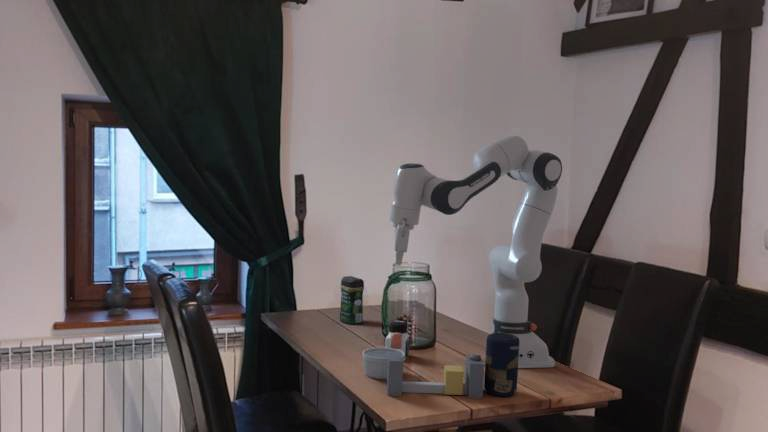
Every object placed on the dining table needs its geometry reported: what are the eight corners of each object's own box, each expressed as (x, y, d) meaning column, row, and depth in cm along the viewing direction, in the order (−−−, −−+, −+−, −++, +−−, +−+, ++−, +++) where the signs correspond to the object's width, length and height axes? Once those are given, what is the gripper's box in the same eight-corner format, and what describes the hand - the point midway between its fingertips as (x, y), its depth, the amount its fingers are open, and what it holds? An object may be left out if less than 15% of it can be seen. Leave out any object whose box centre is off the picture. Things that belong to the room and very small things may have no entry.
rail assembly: (477, 388, 210) (479, 351, 209) (482, 398, 201) (484, 360, 200) (387, 385, 210) (388, 348, 209) (387, 395, 201) (389, 357, 200)
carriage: (460, 388, 208) (461, 365, 208) (462, 394, 203) (463, 371, 202) (443, 387, 208) (444, 365, 208) (445, 394, 203) (446, 371, 202)
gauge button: (401, 346, 206) (401, 332, 205) (401, 349, 203) (402, 335, 202) (390, 345, 206) (390, 332, 205) (390, 348, 202) (391, 335, 202)
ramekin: (375, 365, 229) (376, 344, 228) (411, 373, 222) (412, 351, 222) (353, 375, 218) (354, 353, 217) (390, 384, 211) (391, 361, 210)
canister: (498, 385, 213) (501, 326, 212) (523, 394, 206) (526, 333, 205) (476, 391, 207) (479, 331, 206) (502, 400, 200) (505, 338, 199)
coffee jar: (336, 320, 289) (337, 275, 287) (352, 318, 294) (353, 274, 292) (349, 325, 281) (351, 279, 280) (365, 323, 286) (367, 278, 285)
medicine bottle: (405, 360, 236) (406, 325, 235) (384, 358, 237) (385, 323, 236) (409, 355, 243) (410, 320, 242) (388, 353, 244) (390, 318, 243)
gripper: (415, 223, 203) (409, 269, 205) (414, 213, 224) (408, 256, 225) (394, 220, 203) (387, 266, 205) (394, 211, 224) (388, 253, 225)
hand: (398, 261), depth 215 cm, fingers open, 8 cm apart
